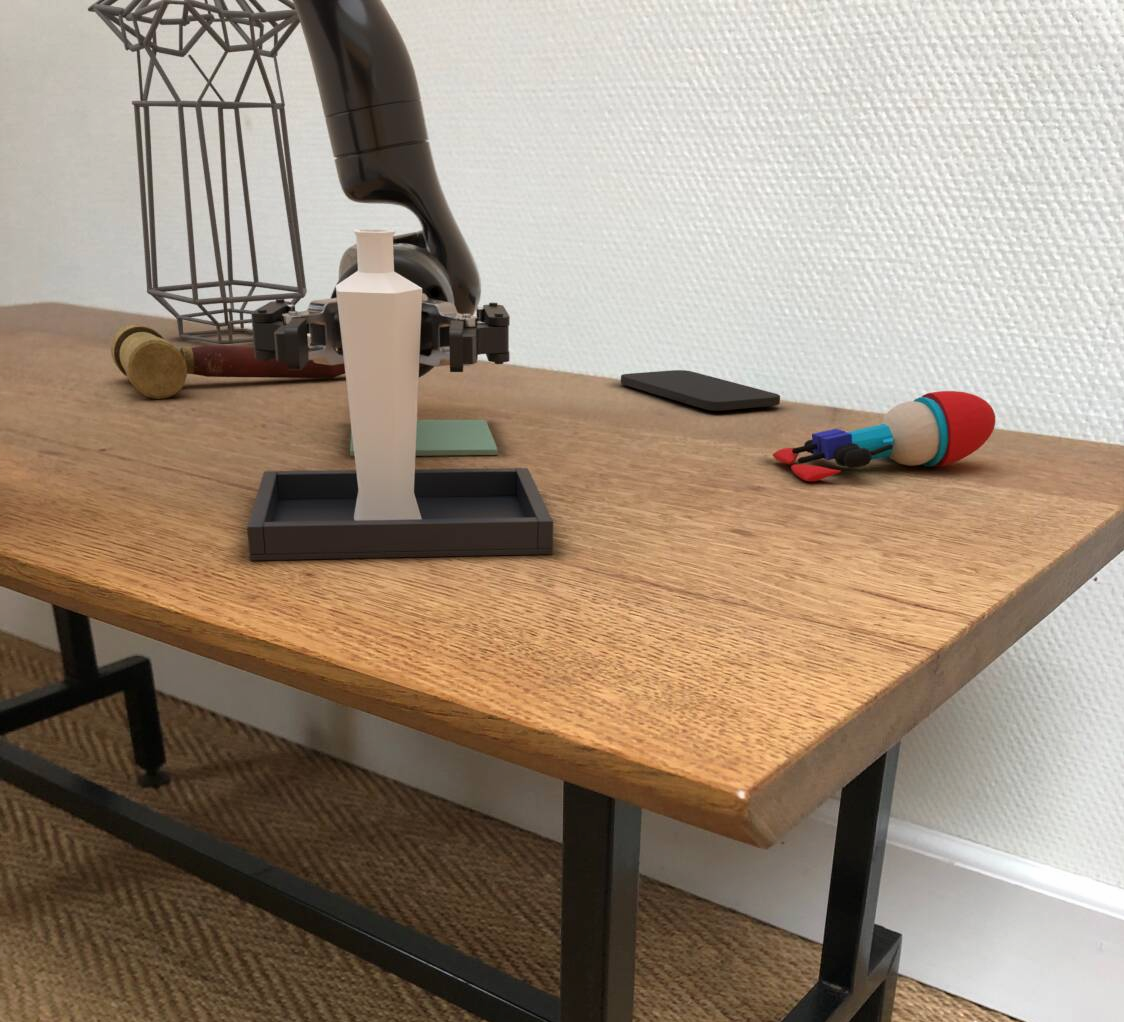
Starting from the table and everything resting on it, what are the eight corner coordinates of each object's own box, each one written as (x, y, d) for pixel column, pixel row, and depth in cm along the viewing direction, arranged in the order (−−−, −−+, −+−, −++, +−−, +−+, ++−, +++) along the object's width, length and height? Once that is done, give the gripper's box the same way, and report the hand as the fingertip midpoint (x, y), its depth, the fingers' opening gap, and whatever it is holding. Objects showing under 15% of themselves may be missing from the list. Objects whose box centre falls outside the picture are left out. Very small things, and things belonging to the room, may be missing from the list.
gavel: (349, 329, 116) (383, 345, 108) (348, 380, 118) (382, 400, 109) (108, 322, 107) (126, 339, 99) (112, 378, 109) (129, 398, 101)
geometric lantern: (337, 341, 131) (315, -56, 116) (204, 357, 121) (161, -77, 105) (250, 325, 141) (219, -44, 125) (121, 338, 130) (69, -62, 115)
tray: (249, 560, 64) (246, 526, 64) (266, 501, 75) (263, 470, 74) (552, 554, 66) (553, 521, 66) (527, 497, 77) (528, 467, 76)
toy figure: (813, 509, 81) (1022, 460, 83) (806, 432, 79) (1021, 385, 82) (767, 489, 88) (962, 445, 90) (760, 418, 86) (960, 374, 88)
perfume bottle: (325, 520, 70) (307, 229, 64) (386, 506, 73) (374, 226, 67) (378, 537, 67) (365, 235, 61) (439, 522, 70) (433, 232, 64)
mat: (350, 456, 85) (350, 450, 85) (352, 425, 94) (351, 420, 94) (497, 455, 87) (497, 449, 86) (485, 424, 95) (485, 419, 95)
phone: (685, 369, 115) (787, 396, 103) (684, 378, 115) (786, 406, 103) (615, 374, 112) (712, 402, 100) (614, 384, 112) (711, 413, 100)
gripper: (277, 246, 78) (229, 272, 64) (506, 250, 79) (511, 277, 65) (286, 370, 82) (243, 422, 67) (506, 373, 83) (510, 425, 68)
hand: (374, 350), depth 66 cm, fingers open, 8 cm apart
